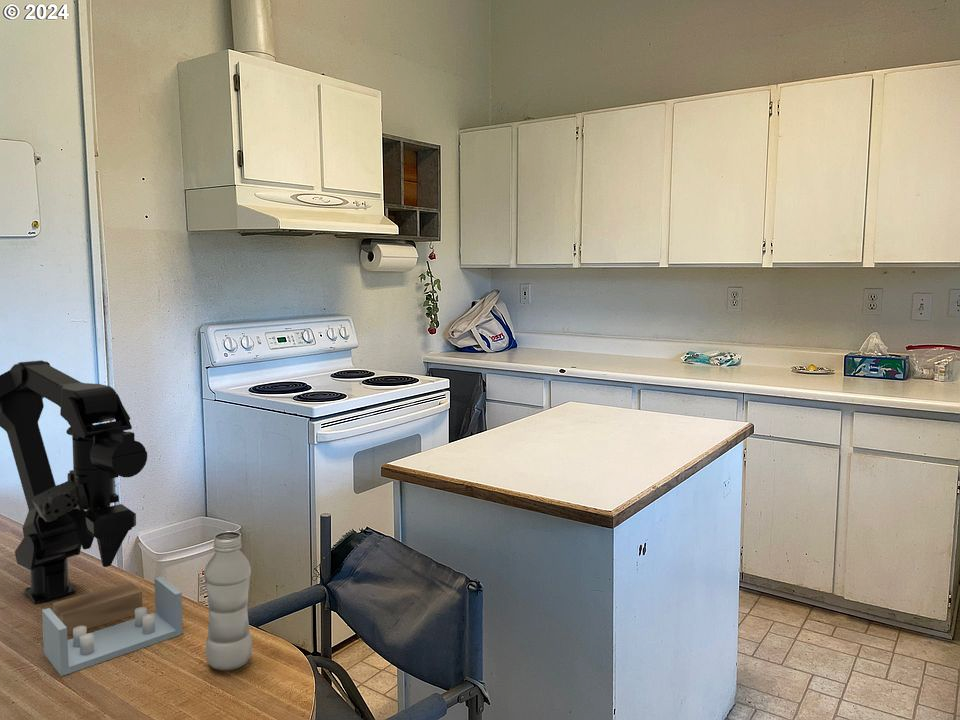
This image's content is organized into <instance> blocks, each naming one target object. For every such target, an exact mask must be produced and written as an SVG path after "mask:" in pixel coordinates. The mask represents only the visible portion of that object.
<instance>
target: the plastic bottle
mask: <svg viewBox="0 0 960 720" xmlns="http://www.w3.org/2000/svg"><path fill="white" fill-rule="evenodd" d="M213 540H214V541H213V547H212V548H213V551H215V552H214V553H213V554H212V556H211V557H210V558H209V560H208V561H207V563H206V564H205V568H204V571H203V578H204V583H205V589H206V594H207V603H208V629H207V637H206V641H205V648H204V649H205V650H204V653H205V657H206V661H207V663H208V664H209V665H210V666H211V668H213V670H217V671H227V672H228V671H233V670H237V669H239V668H241V667H243V666H245V665H246V664H247V663H248V662H249V660H250V659H251V656H252V651H253V639H252V634H251V631H250V625H249V614H248V601H249V600H248V599H249V590H250V583H251V571H252V567H251V564H250V561H249V560H248V559H247V557H246V555H244V553H243V552H242V551H241V548H242V547H243V546H242V545H243V544H242V534H241V533H240V532H237V531H234V530H233V531H231V530H230V531H221V532H219V533H216V534H215V535H214V536H213Z"/></svg>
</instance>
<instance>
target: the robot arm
mask: <svg viewBox="0 0 960 720" xmlns="http://www.w3.org/2000/svg"><path fill="white" fill-rule="evenodd" d="M44 398H45V399H46V400H48V401H50V402H52V403H54V404H55V405H57V406H58V407H59V408H60V412H59V413H60V414H59V415H60V416H61V417H62V418H63V419H64V420H65V421H66V422H67V423H68V425H69V427H68V428H67V429H66V434H67V435H69V436H71V438H72V462H73V463H72V464H73V465H72V467H73V468H72V469H71V470H69V472H68V473H67V480H66V481H65V482H62V483H60V484H57V485H56V481H55V479H54V475H53V471H52V469H51V468H52V467H51V464H50V460H49V457H48V454H47V451H46V447H45V443H44V439H43V436H42V433H41V429H40V426H39V421H40V418H41V415H42V413H43V410H44V407H45V405H44V401H43V399H44ZM130 421H131V417H130V415H129V413H128V411H127V410H126V408H125V406H124V405H123V403H122V401H121V398H120V395H119V394H118V393H117V392H116V390H115V389H114V388H113V387H112V386H110V385H106V384H102V383H89V382H87V383H86V382H81V381H79V380H77V379H76V378H74V377H72V376H70V375H69V374H66V373H65V372H63V371H61V370H59V369H57V368H55V367H53V366H51V364H50V363H49V362H48V361H46V360H45V361H44V360H42V359H40V360H31V361H30V360H29V361H28V360H27V361H19V362H18V363H15V364H13V365H12V366H11V368H10V369H9V370H8V371H6V372H4V373H2V374H0V428H1V429H2V430H3V431H5V432H6V434H7V437H8V440H9V441H8V442H9V444H10V448H11V452H12V456H13V458H14V462H15V465H16V470H17V473H18V476H19V479H20V484H21V488H22V490H23V494H24V499H25V501H26V505H27V510H28V512H27V515H26V518H25V520H24V523H23V525H22V533H23V539H21V541H20V543H19V544H18V545H17V547H16V549H15V551H14V555H15V559H16V564H17V565H19V566H21V567H23V568H25V569H27V570H29V574H30V586H29V587H25V588H24V593H25V594H26V595H27V596H28V597H29V599H30V600H31V601H32V602H33V603H34V604H39V603H43V602H46V601H49V600H53V599H58V598H62V597H65V596H68V595H72V594H75V593H76V592H77V589H76V588H75V587H74V586H73V585H72V584H71V582H69V560H68V559H69V558H71V557H75V556H79V555H81V549H83V550H89V549H91V548H92V545H93V542H94V539H96V542H97V546H98V551H99V555H100V561H101V564H102V567H103V568H106V567H110V566H111V565H112V564H113V562H114V559H115V558H116V556H117V554H118V552H119V549H120V547H121V546H122V544H123V541H124V540H125V538H126V537H127V534H128V532H129V531H131V530H133V528H134V527H135V526H137V513H136V512H134V511H133V510H131V509H130V508H128V507H126V506H125V505H124V504H122V503H120V504H119V502H120V496H119V494H117V493H116V492H115V479H116V478H119V477H122V478H132V477H134V476H137V475H138V474H139V473H140V472H141V471H142V470H143V469H144V468H145V466H146V464H147V461H148V451H147V449H146V447H145V446H144V444H143V443H142V442H140V441H137V440H135V432H134V431H133V432H132V431H130V430H132V428H133V426H132V424H131V422H130ZM113 503H118V504H115V505H111V504H113Z"/></svg>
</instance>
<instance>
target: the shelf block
mask: <svg viewBox="0 0 960 720" xmlns="http://www.w3.org/2000/svg"><path fill="white" fill-rule="evenodd" d="M139 607H143V591H142V590H141V589H140V588H139V587H137V586H136V584H134V583H133V582H132V581H128V582H124V583H120V584H117V585H116V584H115V585H113V586H109V587H106V588H103V589H99V590H95V591H91V592H88V593H84V594H81V595H77V596H74V597H70V598H69V597H68V598H66V599H63V600H59V601H56V602H52V608H53V609H52V611H53V612H54V614H55V615H56V616H57V617H58V618H59V619H60V620H61V622H62V623H63V624H64V625H65V626H66V627H67V636H69V635H73V629H74V628H75V627H78V626H86V630H87V631H88V630H89V629H93V628H96V627H98V626H99V625H100V626H102V625H106V624H109V623H112V622H116V621H119V620H121V619H125V618H128V617H131V616H135V609H137V608H139Z"/></svg>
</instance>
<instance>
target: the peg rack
mask: <svg viewBox="0 0 960 720" xmlns="http://www.w3.org/2000/svg"><path fill="white" fill-rule="evenodd" d="M182 593H183V592H182V591H181V590H179V589H178V588H177V587H175V586H174V585H173V584H171V583H170V582H169V581H168V580H166V579H165V578H164V577H162V576H160V575H159V576H157V577H154V605H155V606H154V611H155V612H152V613H148V608H147V607H146V606H142V607H139V608H137V609H135V615H134V618H133V619H130V620H127V621H123V622H120V623H117V624H114V625H111V626H107V627H104V628H102V629H98V630H96V631H95V630H94V631H93V632H89V633H87V631H88V629H87V630H86V626H78V627H75V628H74V629H73V634H72V638H70V639H68V635H67V627H66V626H65V625H64V624H63V623H62V622H61V620H60V619H59V618H58V617H57V616H56V615H55V614H54V612H53V609H51V608H50V607H48V608H47V607H46V608H45V609H42V610H41V617H42V618H41V620H42V643H43V655H44V656H45V657H46V659H47V660H48V662H49V663H51V665H52V666H53V668H54V669H55V671H56V672H57V673H58V675H59V676H61V677H63V676H66V675H69V674H72V673H75V672H77V671H79V670H80V671H81V670H83V669H84V670H85V669H86V668H89V667H92V666H94V665H95V666H96V665H97V664H100V663H104V662H106V661H109V660H112V659H115V658H119V657H120V656H123V655H126V654H129V653H131V652H135V651H138V650H141V649H143V648H146V647H149V646H152V645H155V644H158V643H160V642H164V641H167V640H169V639H172V638H175V637H178V636H181V635H183V634H184V633H183V601H182V600H183V599H182V598H183V594H182Z"/></svg>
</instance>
